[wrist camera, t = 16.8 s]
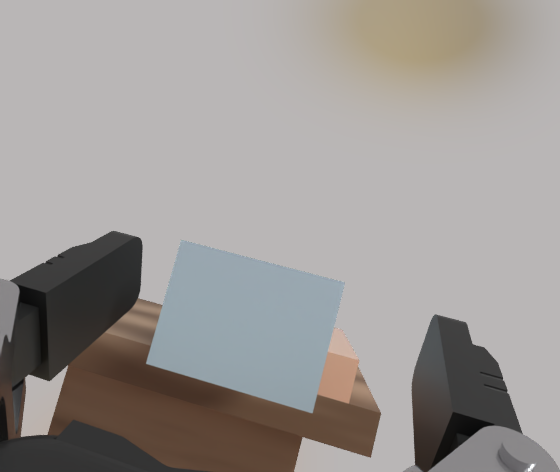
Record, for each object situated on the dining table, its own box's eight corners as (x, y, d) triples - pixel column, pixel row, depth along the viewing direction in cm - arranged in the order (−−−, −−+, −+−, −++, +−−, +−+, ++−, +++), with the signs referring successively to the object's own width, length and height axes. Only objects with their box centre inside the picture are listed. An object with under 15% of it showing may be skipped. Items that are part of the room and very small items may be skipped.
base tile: (348, 403, 20) (359, 360, 21) (184, 355, 21) (196, 314, 22) (336, 353, 36) (342, 329, 37) (242, 327, 37) (248, 304, 37)
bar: (312, 413, 10) (345, 282, 10) (146, 363, 10) (180, 239, 11) (318, 322, 38) (326, 287, 38) (272, 309, 38) (281, 275, 38)
